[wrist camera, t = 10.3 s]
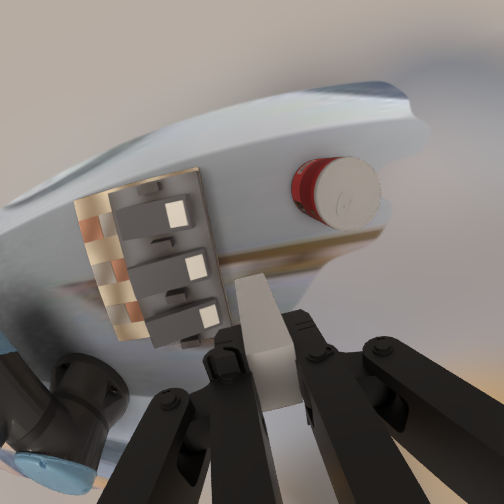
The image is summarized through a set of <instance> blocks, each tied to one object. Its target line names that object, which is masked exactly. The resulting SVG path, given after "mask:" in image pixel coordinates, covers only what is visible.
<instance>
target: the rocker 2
mask: <svg viewBox="0 0 504 504" xmlns="http://www.w3.org/2000/svg"><path fill="white" fill-rule="evenodd" d="M144 322H145V325H146V328H147V330H148V333H149V335H150V338H151V341H152V343H153V346H154V348H158V347H161V346H164V345H167V344H170V343H173V342H176V341H178V340H181V339H184V338H187V337H190V336H193V335H196V334H199V333H202V332H204V331H207V330H210V329H213V328H215V327H218V326H221V325H222V322H221V318H220V314H219V310H218V306H217V303H216V299H215V298H214V297H210V298H207V299H204V300H201V301H198V302H195V303H192V304H189V305H186V306H183V307H180V308H177V309H174V310H171V311H167V312H164V313H161V314H158V315H155V316H152V317H149V318H146V319H144Z"/></svg>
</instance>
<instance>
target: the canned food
mask: <svg viewBox="0 0 504 504" xmlns="http://www.w3.org/2000/svg"><path fill="white" fill-rule="evenodd" d="M292 196H293V200H294V202H295V204H296V205H297V207H298V208H299V209H300V210H301V211H302V212H303V213H305V214H307V215H308V216H310V217H312V218H314V219H316V220H318V221H320V222H322V223H324V224H325V225H327V226H329V227H332V228H334V229H337V230H340V231H354V230H357V229H360V228H361V227H363V226H365V225H366V224H367V223H368V222H369V221H370V220H371V219H372V218H373V216H374V215H375V213H376V211H377V209H378V206H379V203H380V198H381V188H380V182H379V179H378V176H377V174H376V173H375V171H374V170H373V168H372V167H371V166H370V165H369V164H368V163H366V162H365V161H363V160H361V159H359V158H354V157H334V158H324V159H315V160H311V161H309V162H307V163H305V164H304V165H302V166H301V167H300V168H299V169H298V171H297V172H296V174H295V176H294V178H293V181H292Z"/></svg>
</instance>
